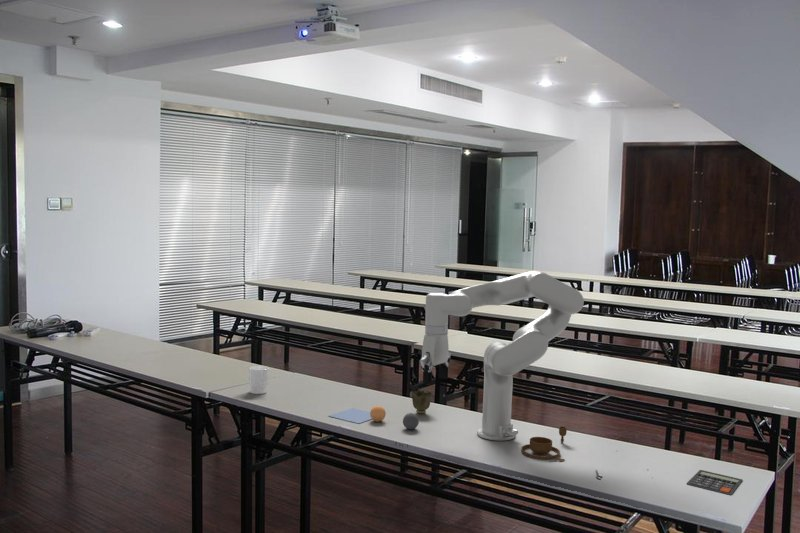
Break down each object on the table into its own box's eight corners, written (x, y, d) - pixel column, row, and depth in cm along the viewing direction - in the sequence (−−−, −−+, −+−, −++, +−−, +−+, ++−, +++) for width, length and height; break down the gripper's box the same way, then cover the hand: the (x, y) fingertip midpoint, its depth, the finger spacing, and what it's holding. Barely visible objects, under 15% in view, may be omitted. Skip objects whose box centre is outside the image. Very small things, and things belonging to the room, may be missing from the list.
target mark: (382, 415, 252) (382, 415, 252) (358, 423, 241) (358, 423, 241) (352, 408, 260) (352, 408, 260) (328, 416, 249) (328, 415, 249)
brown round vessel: (407, 414, 256) (408, 392, 255) (416, 409, 262) (417, 388, 262) (425, 417, 252) (426, 395, 252) (434, 412, 259) (435, 391, 258)
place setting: (509, 447, 223) (510, 429, 223) (562, 442, 230) (563, 425, 230) (538, 466, 207) (539, 446, 206) (594, 460, 214) (595, 441, 213)
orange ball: (388, 421, 245) (389, 406, 244) (376, 424, 241) (376, 408, 241) (379, 418, 249) (379, 403, 249) (366, 420, 245) (367, 405, 245)
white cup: (246, 390, 282) (247, 366, 281) (265, 389, 285) (266, 365, 285) (251, 395, 275) (251, 370, 274) (270, 393, 278) (271, 369, 277)
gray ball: (421, 429, 237) (422, 414, 236) (409, 432, 233) (410, 416, 233) (411, 425, 241) (412, 410, 241) (399, 428, 237) (399, 412, 237)
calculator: (686, 482, 194) (700, 469, 206) (686, 486, 194) (699, 472, 206) (731, 493, 187) (742, 478, 199) (731, 497, 187) (742, 482, 199)
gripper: (440, 326, 239) (439, 375, 240) (412, 332, 225) (411, 384, 226) (459, 328, 235) (458, 378, 236) (431, 334, 221) (430, 387, 222)
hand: (435, 380), depth 231 cm, fingers open, 9 cm apart
